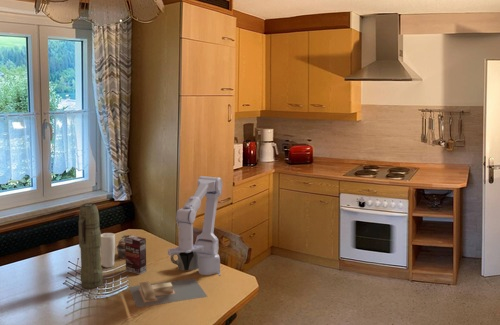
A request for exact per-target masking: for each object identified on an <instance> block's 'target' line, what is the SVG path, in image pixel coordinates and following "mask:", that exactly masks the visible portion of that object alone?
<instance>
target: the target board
mask: <svg viewBox="0 0 500 325" xmlns="http://www.w3.org/2000/svg"><path fill="white" fill-rule="evenodd" d="M169 282H171V284H172V285H173V293H170V294H163V295H156V296H155V300H152V301H146V302H145V301H144V298H143V296H142V294H141V291H140V285H136V286H128V288H129V291H130V294H131V296H132V299H133V301H134V304H135V306H136V308H143V307H148V306H155V305H157V306H158V305H162V304H168V303H175V302H182V301H189V300H195V299H200V298H201V299H202V298H207V297H208V295H207V294H206V292H205V291H204V289H203V288H202V287H201V285H200V284H199V283H198V281H197V279H196V278H195V277H193V278H185V279H184V278H183V279H178V280H171V281H170V280H169V281H164V282H155V283H150V284H151V285H155V284H162V283H169Z"/></svg>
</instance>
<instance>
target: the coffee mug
mask: <svg viewBox="0 0 500 325" xmlns="http://www.w3.org/2000/svg"><path fill="white" fill-rule="evenodd" d="M194 244H195V243H193V246H194ZM193 254H194V256H193V258H192V260H191V262H190V265H189V270H185V269H184V265H183V262H182V259H181V257H180V255H179V254H172V255H170V261H171V263H172V264H174V265H177V268H178V271H189V272H190V271H196V270H197V269H198V255H197V253H195V252H193ZM175 255H176V256H177V259H176V260H175V259H174V257H175Z"/></svg>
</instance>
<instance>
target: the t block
mask: <svg viewBox="0 0 500 325" xmlns="http://www.w3.org/2000/svg"><path fill="white" fill-rule="evenodd" d="M168 282H169V283H162V282H161V283H162V284H155V283H154V284H155V285H151V284H152V283H151V281H150V280H149V281H142V282H139V286H140V291H141V294H142V296H143V298H144V301H145V302H146V301H152V300H155V296H156V295H163V294H170V293H173V285H172V284H171V282H170V281H168Z"/></svg>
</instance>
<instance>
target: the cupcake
mask: <svg viewBox="0 0 500 325" xmlns="http://www.w3.org/2000/svg"><path fill="white" fill-rule="evenodd" d="M131 235H132V234H130V235H128V234H127V235H124V234H123V235H121V239H119V241H118V244H117V245H116V250H117V254H118V257H119V258H120V259H125V260H126V256H125V238H126V237H128V236H131Z"/></svg>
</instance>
